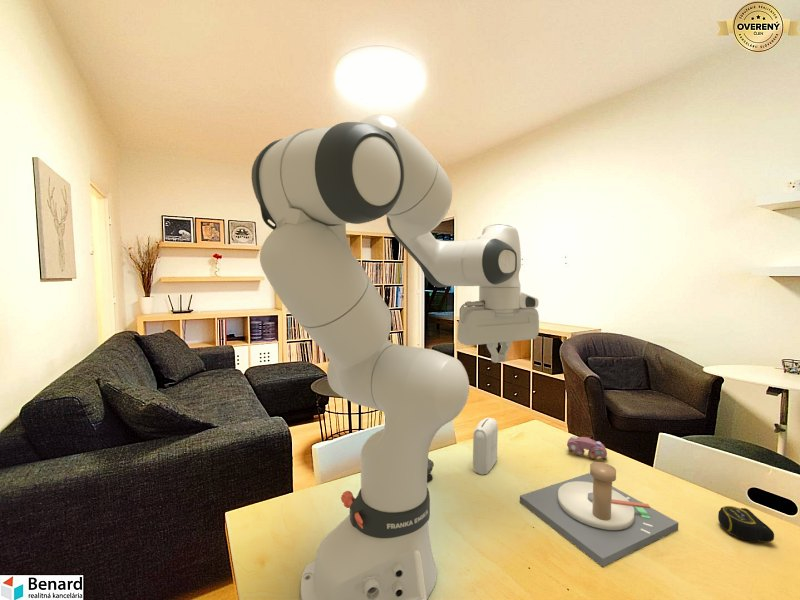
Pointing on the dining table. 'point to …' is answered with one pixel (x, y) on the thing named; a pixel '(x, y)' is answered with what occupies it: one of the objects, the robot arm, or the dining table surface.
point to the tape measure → (744, 524)
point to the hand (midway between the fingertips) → (498, 361)
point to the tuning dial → (598, 500)
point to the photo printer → (485, 445)
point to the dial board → (595, 540)
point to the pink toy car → (587, 447)
